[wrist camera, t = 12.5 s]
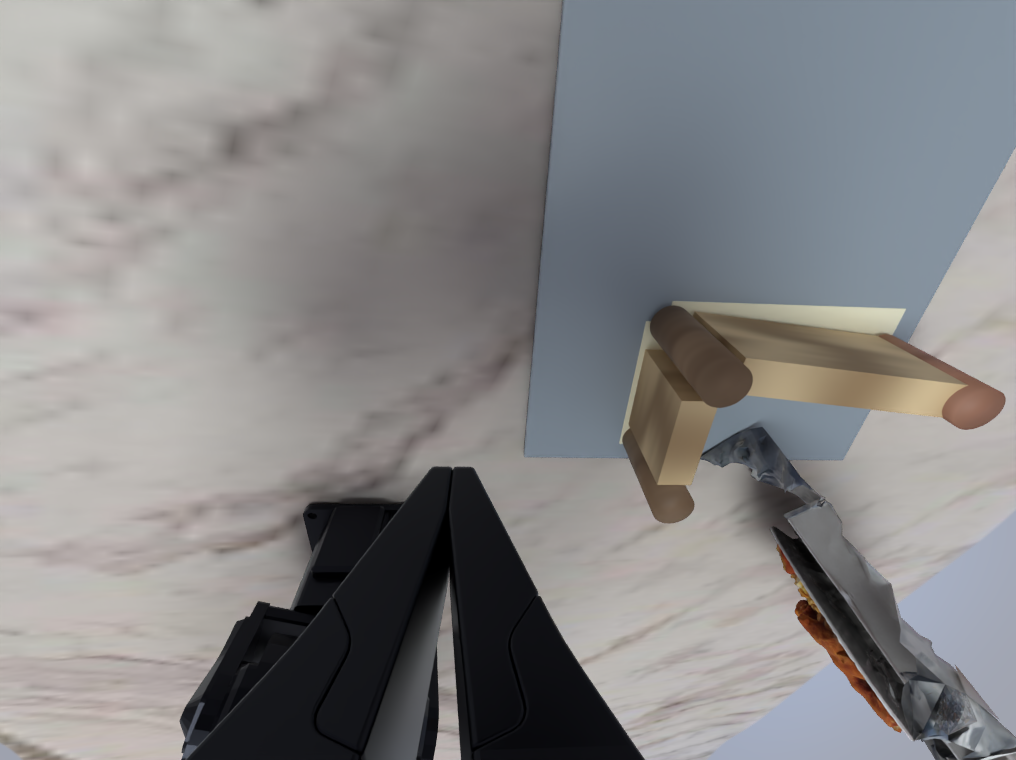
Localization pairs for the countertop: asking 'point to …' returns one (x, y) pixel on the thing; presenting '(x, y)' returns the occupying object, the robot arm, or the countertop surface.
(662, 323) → the rail
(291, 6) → the countertop surface
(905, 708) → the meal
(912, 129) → the board
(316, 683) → the robot arm
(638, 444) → the fixed fence rail
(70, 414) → the countertop surface
